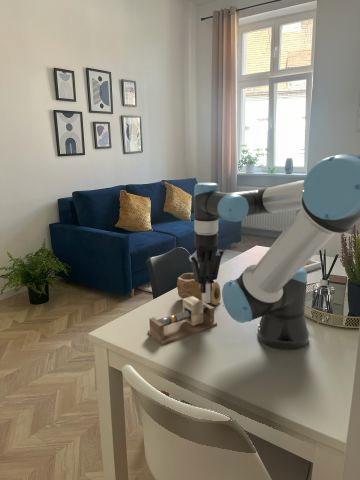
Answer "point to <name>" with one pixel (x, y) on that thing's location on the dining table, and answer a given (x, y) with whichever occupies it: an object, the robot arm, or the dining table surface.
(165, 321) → the rod
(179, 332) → the cradle
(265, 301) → the robot arm
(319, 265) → the parts corral
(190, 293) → the pipe
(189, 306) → the collar
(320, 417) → the dining table surface
